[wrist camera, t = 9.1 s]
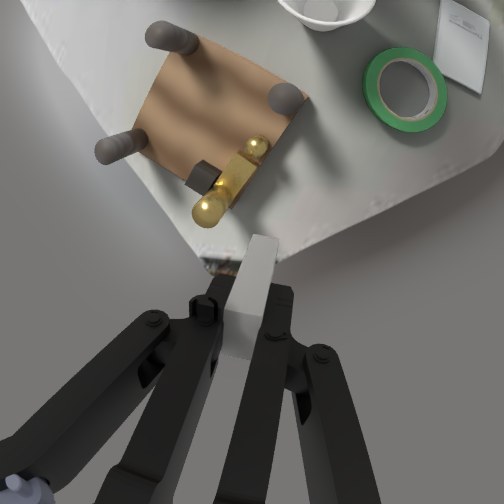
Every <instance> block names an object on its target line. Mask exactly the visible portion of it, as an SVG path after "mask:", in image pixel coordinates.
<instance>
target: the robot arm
mask: <svg viewBox="0 0 504 504" xmlns="http://www.w3.org/2000/svg"><path fill="white" fill-rule="evenodd" d="M278 244H279V238H274V237H268V236H263V235H257V234H253V236H252V238H251V241H250V243H249V246H248V249H247V251H246V254H245V256H244V259H243V261H242V264H241V266H240V269H239V272H238V274H237V277H235V276H230V275H225V274H219V275H217V276H216V277H214V278H213V280H212V282H211V284H210V286H209V288H208V290H207V292H206V294H205V295H204V294H203V295H197V296H195V297H193V298H192V299H191V300H190V301H189V317H188V318H185V319H169V317H168V315H167V314H166V313H165V312H163V311H160V310H149V311H146V312H144V313H142V314H141V315H140V316H139V317H138V318H137V319H135V320H134V321H133V322H132V323H131V324H130V325H129V326H128V327H127V328H125V329H124V330H123V331H122V332H121V333H120V334H119V335H118V336H117V337H116V338H115V339H113V340H112V341H111V342H110V343H109V344H108V345H107V346H106V347H105V348H104V349H103V350H101V351H100V352H99V353H98V354H97V355H96V356H95V357H94V358H93V359H92V360H91V361H90V362H89V363H87V364H86V365H85V366H84V367H83V368H82V369H81V370H80V371H79V372H78V373H77V374H76V375H75V376H74V377H72V378H71V379H70V380H69V381H68V382H67V383H66V384H65V385H64V386H63V387H62V388H61V389H60V390H59V391H58V392H57V393H56V394H55V395H53V397H51V398H50V399H49V400H48V401H47V402H46V403H45V404H44V405H43V406H42V407H41V408H40V409H39V410H38V411H37V412H36V413H35V414H34V415H33V416H32V417H31V418H30V419H29V420H28V421H27V422H26V423H25V424H24V425H23V426H22V427H21V428H20V429H19V430H18V431H17V432H16V433H15V434H14V435H13V436H11V437H8V438H6V439H4V440H1V441H0V504H55V500H54V495H53V494H54V493H56V492H58V491H59V490H61V489H62V488H64V487H65V486H66V485H68V484H69V483H70V482H71V481H72V480H73V479H74V478H75V477H76V476H77V474H78V473H79V472H80V471H81V470H82V469H83V468H84V467H85V465H86V464H87V463H88V462H89V461H90V460H91V459H92V458H93V456H94V455H95V454H96V453H97V452H98V451H99V450H100V448H101V447H102V446H103V445H104V444H105V443H106V442H107V440H108V439H109V438H110V437H111V436H112V435H113V434H114V432H115V431H116V430H117V429H118V428H119V427H120V426H121V424H122V423H123V422H124V421H125V420H126V419H127V418H128V416H129V415H130V414H131V413H132V412H133V411H134V409H135V408H136V407H137V406H138V405H139V403H141V401H142V400H143V399H144V398H145V397H146V395H147V394H148V393H149V392H150V391H151V390H152V389H153V387H154V386H155V385H156V386H155V388H154V390H153V392H152V395H151V397H150V399H149V401H148V403H147V405H146V407H145V409H144V411H143V414H142V416H141V418H140V420H139V422H138V424H137V426H136V429H135V431H134V433H133V435H132V437H131V440H130V442H129V444H128V446H127V448H126V451H125V453H124V455H123V457H122V459H121V461H120V462H119V464H117V465H115V466H113V467H112V468H111V469H110V470H109V472H108V474H107V476H106V478H105V480H104V482H103V484H102V487H101V489H100V491H99V494H98V496H97V498H96V500H95V503H94V504H172V503H173V496H174V492H175V489H176V487H177V484H178V481H179V478H180V474H181V472H182V469H183V466H184V463H185V460H186V457H187V454H188V451H189V448H190V445H191V442H192V439H193V436H194V433H195V430H196V427H197V424H198V421H199V419H200V416H201V412H202V410H203V407H204V404H205V401H206V398H207V395H208V392H209V389H210V386H211V383H212V380H213V377H214V374H215V371H216V368H217V365H218V356H219V353H220V350H221V354H224V355H228V356H233V357H237V358H242V359H247V360H251V363H250V367H249V371H248V375H247V379H246V383H245V387H244V391H243V395H242V399H241V403H240V407H239V411H238V415H237V419H236V422H235V426H234V430H233V434H232V438H231V442H230V445H229V449H228V453H227V457H226V460H225V464H224V468H223V471H222V475H221V479H220V482H219V486H218V490H217V493H216V496H215V499H214V502H213V504H265V500H266V494H267V489H268V484H269V478H270V473H271V468H272V462H273V455H274V450H275V444H276V438H277V432H278V426H279V419H280V412H281V406H282V399H283V392H284V388H286V389H288V390H290V391H292V398H293V404H294V410H295V415H296V422H297V427H298V433H299V439H300V445H301V451H302V457H303V463H304V469H305V475H306V482H307V488H308V494H309V500H310V504H381V501H380V497H379V493H378V489H377V485H376V481H375V478H374V474H373V470H372V466H371V462H370V459H369V455H368V452H367V448H366V445H365V441H364V438H363V434H362V431H361V427H360V424H359V421H358V417H357V414H356V411H355V407H354V404H353V401H352V398H351V394H350V391H349V388H348V385H347V382H346V379H345V376H344V372H343V369H342V366H341V363H340V360H339V357H338V355H337V353H336V351H335V350H334V349H333V348H331V347H330V346H327V345H325V344H314V345H312V346H310V347H306V346H304V345H302V344H300V343H298V342H297V341H296V340H295V339H294V338H293V337H292V335H291V333H290V325H291V317H292V307H293V298H294V293H293V291H292V289H291V287H290V286H285V285H279V284H274V283H271V282H272V277H273V272H274V266H275V261H276V256H277V250H278Z"/></svg>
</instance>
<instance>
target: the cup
mask: <svg viewBox="0 0 504 504" xmlns="http://www.w3.org/2000/svg"><path fill="white" fill-rule="evenodd" d="M278 2H279V3H280V4H281V5H282V6H283V7H284V8H285V9H286V10H287V11H288V12H290V13H291V14H292V15H294V16H295V17H297V18H298V19H299V20H300V21H301V22H302V23H303V24H304V25H305V26H307V27H309V28H310V29H313V30H316V31H331V30H334V29H336V28H338V27H340V26H342V25H348V24H351V23H354V22H357V21H358V20H360V19H362V18H364V17H365V16H366V15H367V14H368V13H369V12H370V11H371V10H372V8H373V7H374V5H375V2H376V0H278Z"/></svg>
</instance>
